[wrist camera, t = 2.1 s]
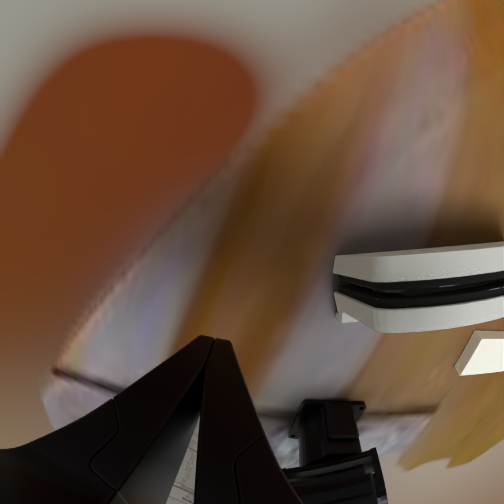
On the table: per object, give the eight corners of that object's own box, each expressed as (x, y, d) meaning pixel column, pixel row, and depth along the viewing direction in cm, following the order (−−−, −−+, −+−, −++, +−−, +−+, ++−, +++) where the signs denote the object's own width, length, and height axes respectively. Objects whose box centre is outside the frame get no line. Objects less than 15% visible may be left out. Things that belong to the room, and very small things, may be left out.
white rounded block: (331, 318, 21) (366, 371, 11) (328, 255, 21) (366, 259, 11) (495, 292, 19) (570, 308, 9) (495, 241, 19) (572, 238, 9)
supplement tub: (177, 442, 28) (148, 540, 15) (121, 396, 26) (67, 499, 12) (241, 427, 26) (223, 551, 12) (181, 373, 24) (127, 516, 10)
